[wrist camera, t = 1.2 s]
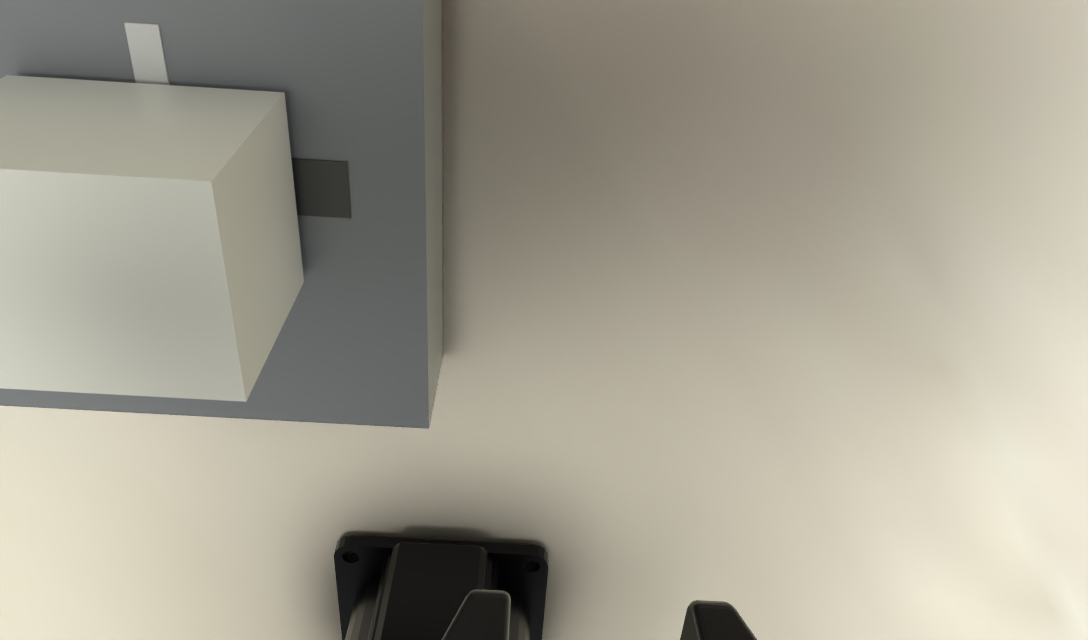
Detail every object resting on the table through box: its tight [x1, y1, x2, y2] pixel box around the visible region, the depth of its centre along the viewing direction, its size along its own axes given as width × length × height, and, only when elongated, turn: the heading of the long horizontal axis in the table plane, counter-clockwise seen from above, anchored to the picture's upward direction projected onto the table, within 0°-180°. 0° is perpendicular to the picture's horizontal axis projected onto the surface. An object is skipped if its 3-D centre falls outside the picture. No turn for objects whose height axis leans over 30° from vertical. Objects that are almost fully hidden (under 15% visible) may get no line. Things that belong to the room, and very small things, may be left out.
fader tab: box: [0, 75, 304, 402], centre depth 15 cm, size 4×5×4 cm
